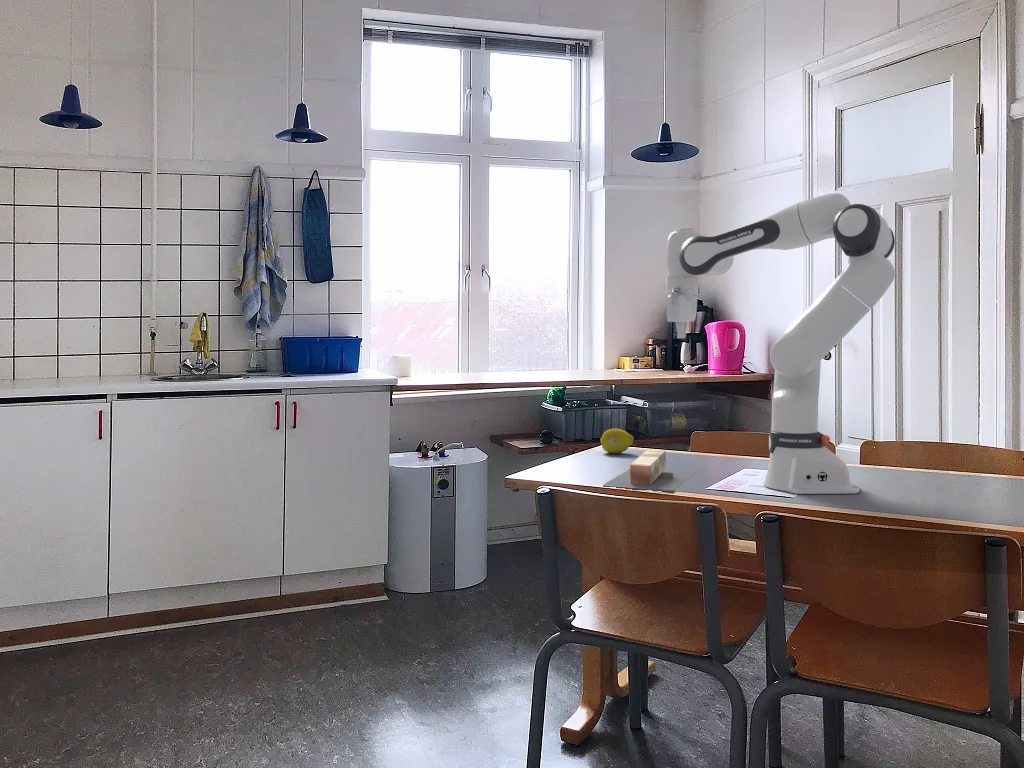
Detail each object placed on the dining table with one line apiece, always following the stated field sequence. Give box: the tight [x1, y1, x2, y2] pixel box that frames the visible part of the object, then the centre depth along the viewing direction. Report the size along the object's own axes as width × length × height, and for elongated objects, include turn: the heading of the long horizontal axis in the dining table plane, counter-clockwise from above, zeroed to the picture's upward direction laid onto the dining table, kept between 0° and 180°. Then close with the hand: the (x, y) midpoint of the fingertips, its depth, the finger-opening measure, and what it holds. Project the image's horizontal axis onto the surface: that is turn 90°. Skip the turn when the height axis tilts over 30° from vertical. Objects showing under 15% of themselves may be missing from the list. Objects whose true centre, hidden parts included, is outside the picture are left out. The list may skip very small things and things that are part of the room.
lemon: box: [599, 428, 634, 455], centre depth 263 cm, size 11×8×8 cm
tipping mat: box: [602, 468, 697, 494], centre depth 218 cm, size 26×18×2 cm
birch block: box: [629, 449, 667, 485], centre depth 217 cm, size 5×5×16 cm
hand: (681, 338), depth 232 cm, fingers closed
